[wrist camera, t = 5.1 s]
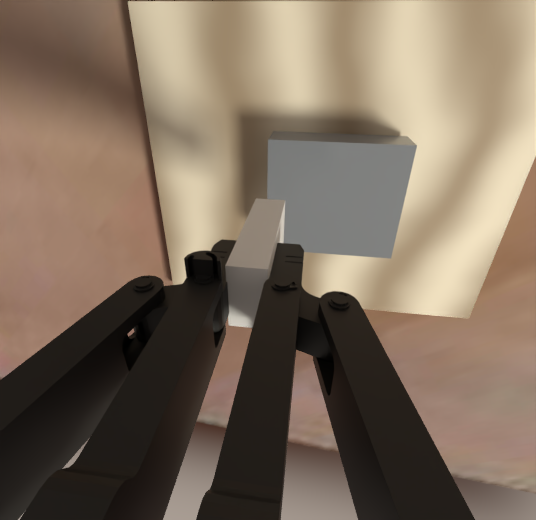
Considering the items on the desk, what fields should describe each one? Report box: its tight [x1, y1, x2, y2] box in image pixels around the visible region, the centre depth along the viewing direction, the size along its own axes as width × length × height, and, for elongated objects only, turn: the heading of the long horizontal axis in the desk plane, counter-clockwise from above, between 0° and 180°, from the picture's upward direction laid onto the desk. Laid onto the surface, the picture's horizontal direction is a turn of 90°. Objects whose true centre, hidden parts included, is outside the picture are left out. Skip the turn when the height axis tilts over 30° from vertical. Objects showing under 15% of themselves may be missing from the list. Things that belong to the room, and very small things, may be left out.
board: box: [128, 0, 536, 319], centre depth 23 cm, size 24×20×1 cm
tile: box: [267, 131, 417, 259], centre depth 22 cm, size 3×7×8 cm
